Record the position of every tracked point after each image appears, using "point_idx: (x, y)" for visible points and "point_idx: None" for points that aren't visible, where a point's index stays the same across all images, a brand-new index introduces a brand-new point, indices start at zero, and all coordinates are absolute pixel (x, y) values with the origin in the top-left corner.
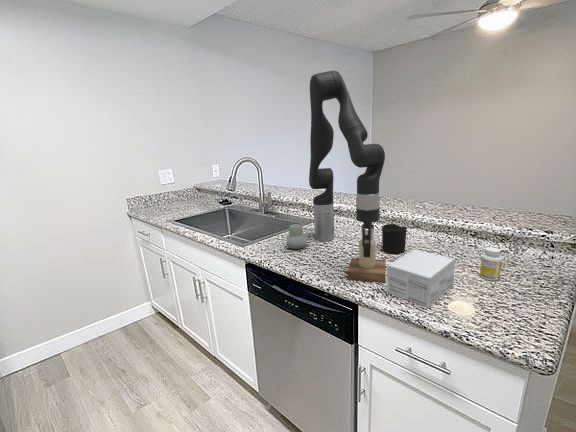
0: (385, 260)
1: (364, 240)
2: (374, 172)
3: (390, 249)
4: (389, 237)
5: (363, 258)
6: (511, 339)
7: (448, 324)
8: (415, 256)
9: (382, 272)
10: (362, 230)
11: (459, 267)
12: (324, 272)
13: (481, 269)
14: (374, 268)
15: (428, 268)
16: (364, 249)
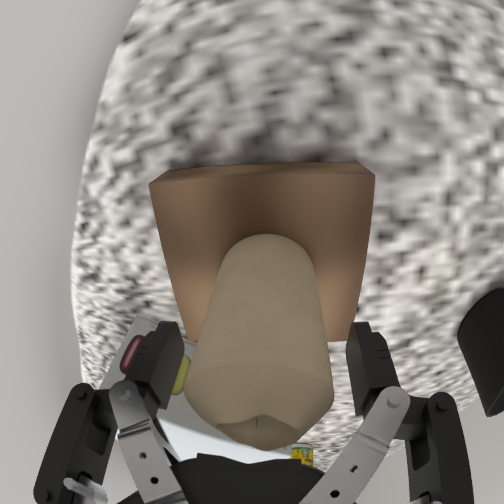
0: (343, 340)
1: (121, 430)
2: None
3: (472, 326)
4: (496, 361)
5: (211, 297)
6: None
7: (93, 380)
8: (215, 454)
9: None
10: (39, 493)
11: (343, 429)
12: (223, 27)
13: (295, 457)
14: None
15: None
16: (145, 366)
